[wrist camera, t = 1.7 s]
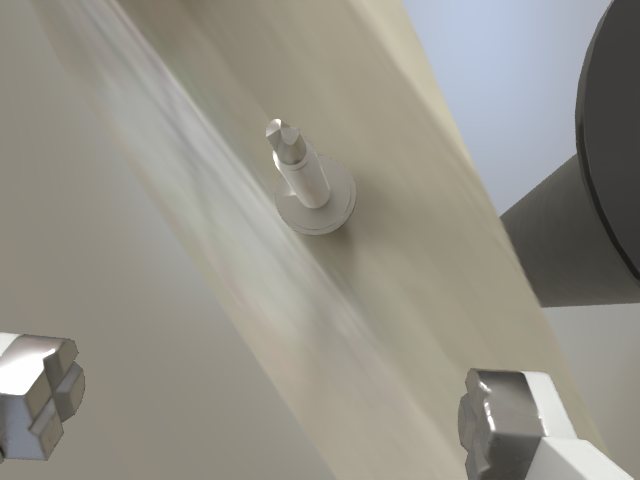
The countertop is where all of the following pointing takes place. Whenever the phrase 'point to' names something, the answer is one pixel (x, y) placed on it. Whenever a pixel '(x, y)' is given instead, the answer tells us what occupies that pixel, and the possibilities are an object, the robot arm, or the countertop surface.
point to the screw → (309, 183)
